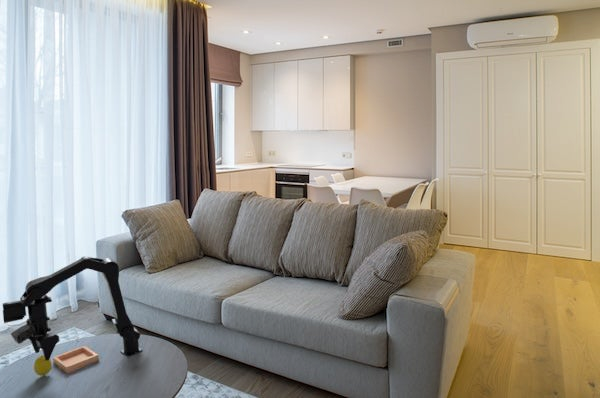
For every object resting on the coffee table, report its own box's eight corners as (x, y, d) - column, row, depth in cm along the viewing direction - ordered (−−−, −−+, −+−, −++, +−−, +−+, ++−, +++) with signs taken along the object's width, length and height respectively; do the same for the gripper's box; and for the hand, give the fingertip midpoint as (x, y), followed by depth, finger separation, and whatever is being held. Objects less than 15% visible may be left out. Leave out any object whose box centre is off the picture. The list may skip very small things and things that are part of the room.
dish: (98, 360, 171) (98, 354, 171) (66, 373, 162) (66, 367, 162) (84, 351, 179) (84, 345, 179) (53, 363, 170) (52, 357, 169)
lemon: (49, 370, 165) (47, 350, 163) (54, 375, 161) (52, 355, 160) (33, 376, 161) (31, 355, 160) (37, 382, 157) (35, 361, 156)
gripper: (3, 316, 157) (8, 357, 160) (22, 330, 145) (27, 374, 148) (37, 306, 166) (41, 345, 168) (57, 319, 154) (62, 361, 156)
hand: (42, 356), depth 160 cm, fingers open, 9 cm apart
